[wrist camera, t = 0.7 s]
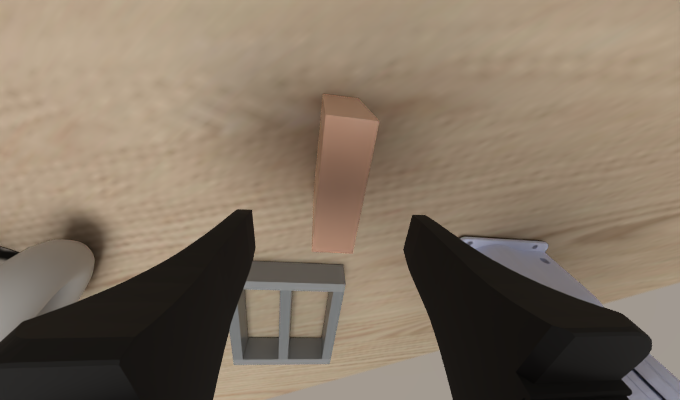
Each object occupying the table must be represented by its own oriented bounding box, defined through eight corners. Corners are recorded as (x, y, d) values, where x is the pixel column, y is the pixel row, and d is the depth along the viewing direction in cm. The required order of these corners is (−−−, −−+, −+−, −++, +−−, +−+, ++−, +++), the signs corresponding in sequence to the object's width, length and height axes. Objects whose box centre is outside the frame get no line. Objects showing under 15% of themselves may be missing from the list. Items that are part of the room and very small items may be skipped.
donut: (93, 297, 25) (-24, 426, 16) (51, 285, 24) (-100, 417, 15) (118, 226, 21) (-18, 344, 13) (69, 207, 20) (-116, 323, 12)
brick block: (358, 98, 18) (379, 121, 12) (342, 197, 22) (352, 253, 16) (322, 93, 18) (325, 114, 11) (313, 195, 21) (311, 251, 15)
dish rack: (343, 264, 25) (345, 284, 23) (328, 342, 32) (329, 364, 30) (231, 260, 24) (223, 280, 22) (239, 342, 30) (233, 364, 28)
